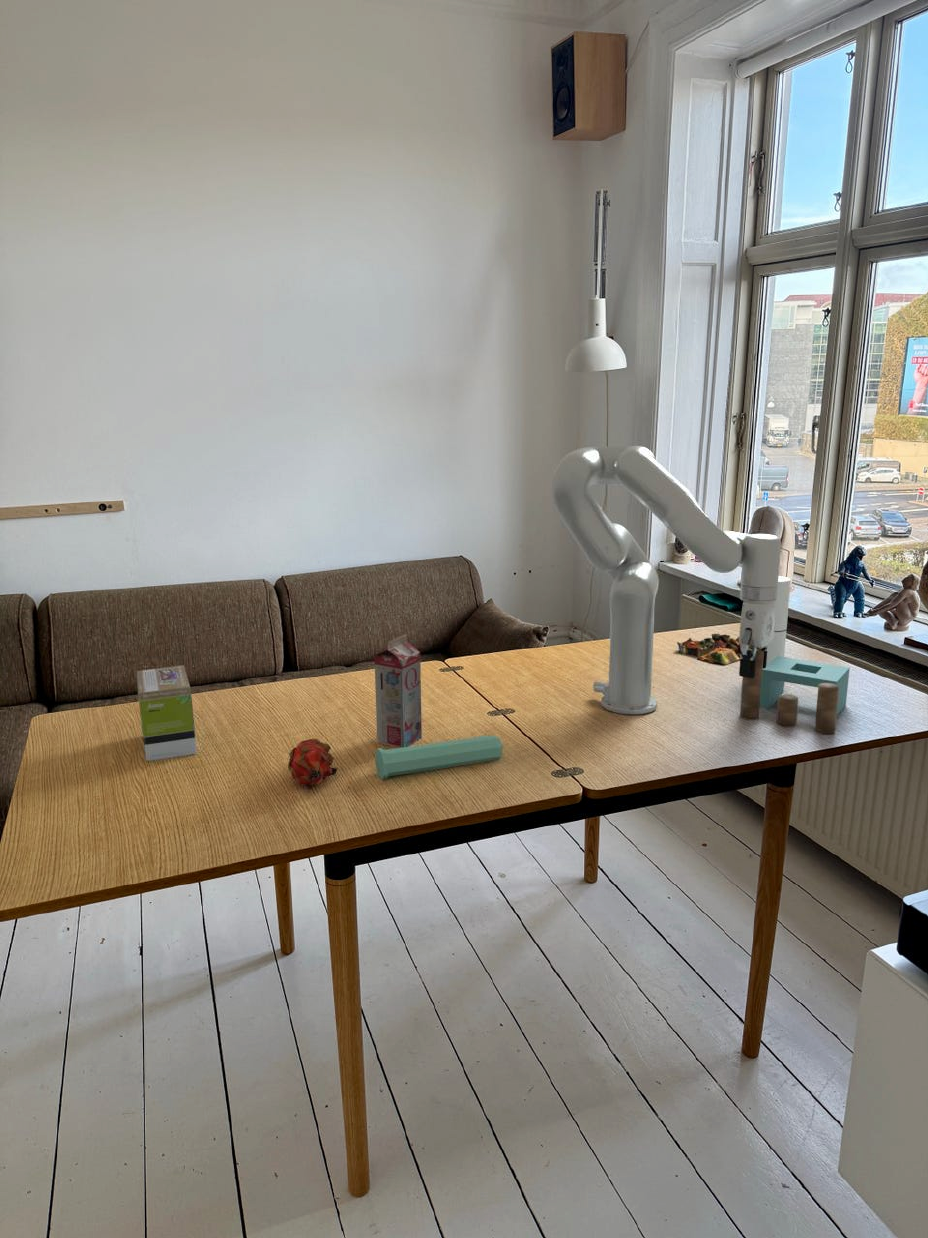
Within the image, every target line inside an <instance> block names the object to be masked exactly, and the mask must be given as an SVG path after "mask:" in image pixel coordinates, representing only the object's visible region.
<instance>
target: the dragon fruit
mask: <svg viewBox="0 0 928 1238" xmlns="http://www.w3.org/2000/svg"><path fill="white" fill-rule="evenodd" d="M330 750H331V746H330V745H329V744H328V743H324V742H323V741H322V742H321V741H320V739H318V738H309V739H306V740H301V741H300V742H299V743H298V744H297V746H296V747H293V749H291V751H290V752H289V753H288V756H289V762H288V765H287V770H288V772H290V775H291V777H292V779H293V780H297V782H298V783H299V784H300V785H301V786H302V787H303V788H305V789H308V790H309V789H310V790H311V787H313V785H315V786H319V785H322V783H324V782H325V781H326V780H327V778H328V777H331V776H335V775H336V774H337V772H338V770H339V769H338V767H332V766H333V763H334V759H335V757H334V756H333V755H332V754H331V753H330Z"/></svg>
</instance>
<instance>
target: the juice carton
mask: <svg viewBox="0 0 928 1238" xmlns="http://www.w3.org/2000/svg"><path fill="white" fill-rule="evenodd" d="M386 646H387V647H386V648H387V649H385V650H383V651H381V652H379V653H377V654H376V655H374V659H373V660H374V685H375V687H374V688H375V711H376V712H375V715H376V718H375V719H376V743H378V744H382V745H386V746H391V747H394V748H403V747H410V746H412V745H413V744H415V743H416V742H418V741H419V740H420V739H422V738H423V737H422V736H423V730H422V729H423V727H422V725H423V724H422V722H423V721H422V684H421V683H422V682H421V681H422V680H421V677H422V676H421V675H422V673H421V670H422V669H421V652H420V651H419V649H417V648H416V647H415V646H413V645H412V644H411V643H409V642H408V634H407V633H406V634H404V635H401V636H399V637H396V638H394V639H392V640H389V641H388V642H387V645H386Z"/></svg>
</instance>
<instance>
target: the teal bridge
mask: <svg viewBox="0 0 928 1238" xmlns="http://www.w3.org/2000/svg"><path fill="white" fill-rule="evenodd" d="M850 669H851V668H850V667H849V666H844V665H843V666H842V665H835V664H829V663H824V662H818V661H817V662H816V661H811V660H804V659H798V658H791V657H785V656H784V657H780V656H777V657H776V658H775V659H774V660H772V661H771V662H770V663H769V664H768V665H767V666H766V668H764V669H763V670H762V683H761V696H760V708H761V709H765V708H768V709H769V708H771V707H772V706H773V705H774V704H775V703H777V702H778V698H779V695H782V694H783V695H784V689H785V688H784V687H785V683H789V684H796V685H801V686H808V687H812V688H818V685H819V684H821V683H831V684H835V685H838V686H839V692H838V704H837V716H836V718H837V717H838V715H840V713H841V712H842V711H843V710H844V708H845V707H846V706H847V697H848V687H849V680H850V679H849V678H850ZM760 708H759V709H760Z"/></svg>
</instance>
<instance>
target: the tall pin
mask: <svg viewBox="0 0 928 1238" xmlns="http://www.w3.org/2000/svg"><path fill="white" fill-rule="evenodd" d="M748 650H750V651H751V653H752V649H748ZM763 657H764V651H762V650H760V649H756V654H755V658H754V660H756V666H755V677H754V678H747V677H742V678H741V679H742V683H741V692H740V693H741V695H740V696H741V697H740V705H739V706H740V709H739V717H740V718H742V719H743V720H748V721H752V720H753V721H755V720H758V719H759V718H760V696H761V683H762V670H763Z"/></svg>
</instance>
